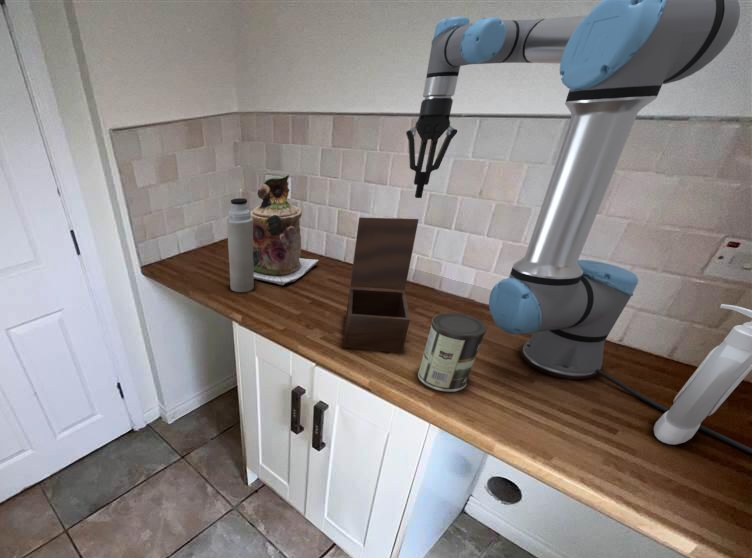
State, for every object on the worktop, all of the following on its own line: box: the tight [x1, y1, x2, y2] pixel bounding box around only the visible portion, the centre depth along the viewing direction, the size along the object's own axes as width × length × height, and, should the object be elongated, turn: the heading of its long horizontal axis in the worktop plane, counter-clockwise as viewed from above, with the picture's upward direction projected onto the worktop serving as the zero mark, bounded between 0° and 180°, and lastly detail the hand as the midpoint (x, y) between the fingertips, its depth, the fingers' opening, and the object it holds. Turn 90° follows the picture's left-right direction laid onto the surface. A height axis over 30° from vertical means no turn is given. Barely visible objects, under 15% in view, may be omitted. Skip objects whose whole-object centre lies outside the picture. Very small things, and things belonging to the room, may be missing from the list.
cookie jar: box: [250, 174, 319, 286], centre depth 140 cm, size 25×25×32 cm
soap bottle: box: [653, 303, 752, 445], centre depth 69 cm, size 13×8×24 cm, turn 124°
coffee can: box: [417, 312, 488, 393], centre depth 88 cm, size 10×10×14 cm
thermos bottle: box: [226, 197, 255, 293], centre depth 129 cm, size 8×8×28 cm
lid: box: [349, 216, 420, 291], centre depth 106 cm, size 18×14×1 cm
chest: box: [343, 287, 411, 354], centre depth 106 cm, size 17×14×9 cm
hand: (418, 197), depth 117 cm, fingers closed
